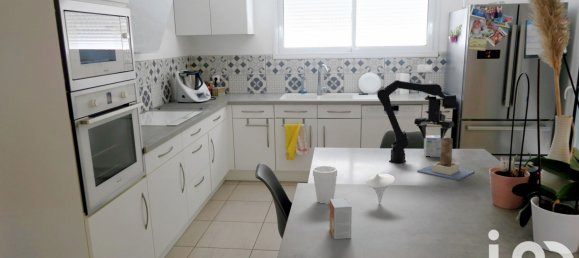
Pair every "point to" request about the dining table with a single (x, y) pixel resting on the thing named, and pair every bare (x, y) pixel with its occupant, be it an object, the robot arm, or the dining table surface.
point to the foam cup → (325, 182)
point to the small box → (340, 218)
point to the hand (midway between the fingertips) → (433, 139)
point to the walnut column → (446, 152)
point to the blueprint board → (454, 176)
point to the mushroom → (380, 183)
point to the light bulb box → (432, 145)
